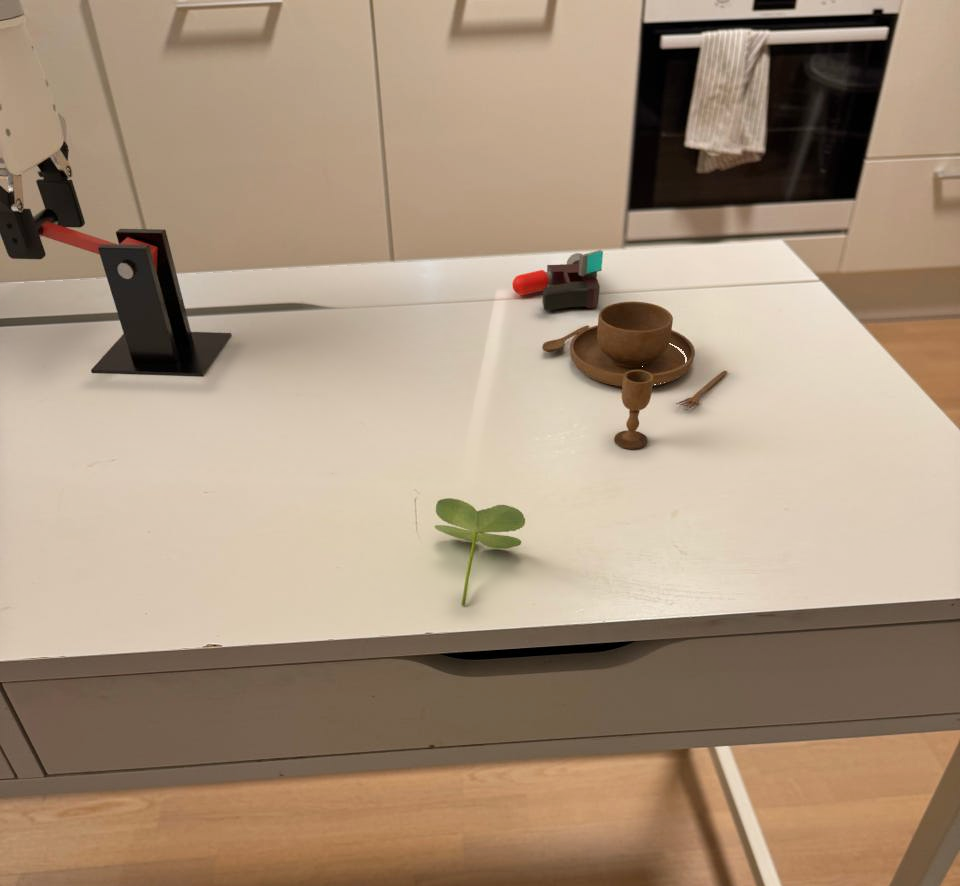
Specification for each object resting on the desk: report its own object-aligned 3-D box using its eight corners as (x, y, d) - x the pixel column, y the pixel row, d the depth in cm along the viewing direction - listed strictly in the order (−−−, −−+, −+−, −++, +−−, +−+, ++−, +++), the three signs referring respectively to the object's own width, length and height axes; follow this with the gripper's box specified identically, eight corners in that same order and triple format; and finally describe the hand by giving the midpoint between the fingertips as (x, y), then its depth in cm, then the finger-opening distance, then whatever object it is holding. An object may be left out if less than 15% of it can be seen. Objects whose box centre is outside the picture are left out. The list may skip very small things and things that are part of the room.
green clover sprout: (466, 628, 64) (481, 546, 66) (537, 616, 58) (552, 526, 60) (386, 597, 60) (404, 511, 62) (453, 581, 54) (472, 486, 56)
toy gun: (589, 270, 102) (592, 227, 99) (605, 312, 94) (609, 266, 90) (507, 273, 102) (508, 230, 99) (516, 315, 93) (517, 269, 90)
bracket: (94, 381, 83) (51, 255, 75) (130, 341, 90) (94, 220, 82) (205, 385, 82) (173, 257, 74) (233, 344, 89) (207, 222, 81)
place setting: (741, 365, 84) (754, 305, 80) (643, 455, 72) (652, 389, 68) (586, 322, 92) (590, 265, 88) (474, 397, 80) (473, 335, 76)
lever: (16, 246, 77) (14, 219, 75) (42, 227, 81) (40, 201, 79) (142, 286, 78) (143, 261, 77) (162, 266, 82) (163, 241, 80)
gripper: (-21, -14, 73) (52, 209, 85) (-148, 21, 61) (-41, 277, 73) (64, -14, 73) (125, 211, 85) (-46, 21, 60) (45, 279, 72)
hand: (48, 240), depth 79 cm, fingers open, 7 cm apart
